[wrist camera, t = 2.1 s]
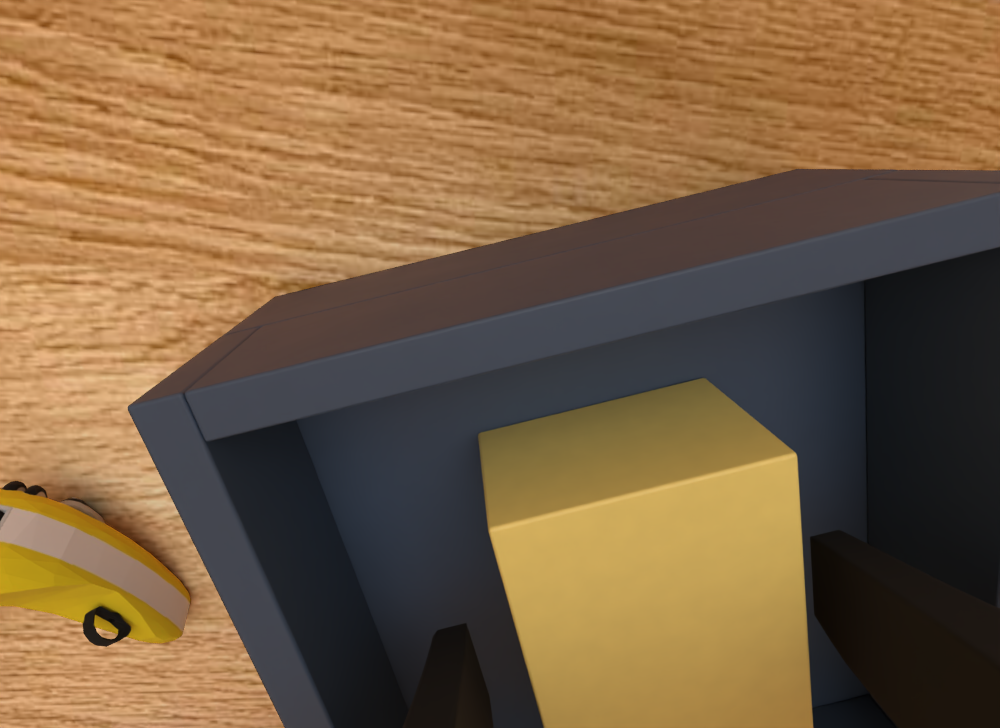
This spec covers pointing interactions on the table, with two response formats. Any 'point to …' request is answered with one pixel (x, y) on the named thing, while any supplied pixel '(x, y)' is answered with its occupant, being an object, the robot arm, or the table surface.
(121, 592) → the game controller
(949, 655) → the robot arm
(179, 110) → the table surface
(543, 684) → the notepads
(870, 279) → the bin
